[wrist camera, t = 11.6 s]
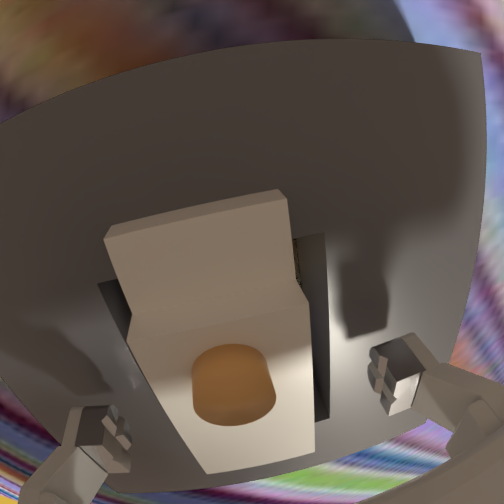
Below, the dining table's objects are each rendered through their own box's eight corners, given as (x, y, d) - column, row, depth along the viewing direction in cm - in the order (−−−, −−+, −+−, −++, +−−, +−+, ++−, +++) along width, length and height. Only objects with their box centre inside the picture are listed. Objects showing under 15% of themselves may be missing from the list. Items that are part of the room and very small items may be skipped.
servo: (287, 387, 15) (321, 490, 10) (209, 404, 15) (222, 511, 10) (254, 163, 10) (320, 235, 5) (134, 190, 10) (74, 288, 5)
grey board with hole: (402, 386, 17) (425, 423, 15) (120, 450, 16) (117, 493, 13) (421, 55, 9) (480, 53, 6) (-42, 162, 8) (-93, 186, 5)
